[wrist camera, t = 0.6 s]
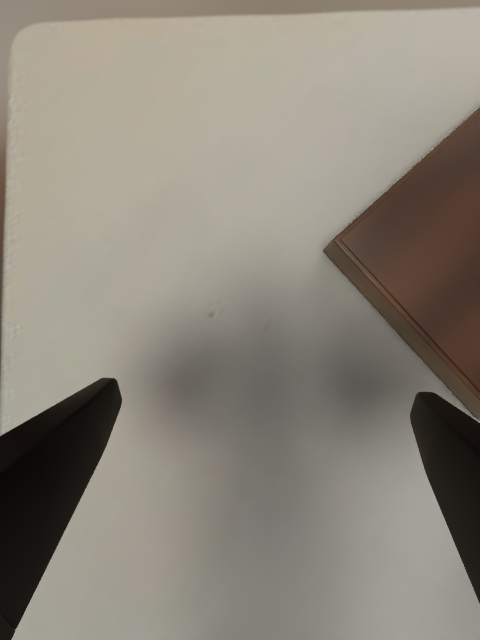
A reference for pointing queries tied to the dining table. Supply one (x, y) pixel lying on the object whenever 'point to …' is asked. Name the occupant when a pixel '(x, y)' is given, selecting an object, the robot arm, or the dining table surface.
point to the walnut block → (427, 259)
